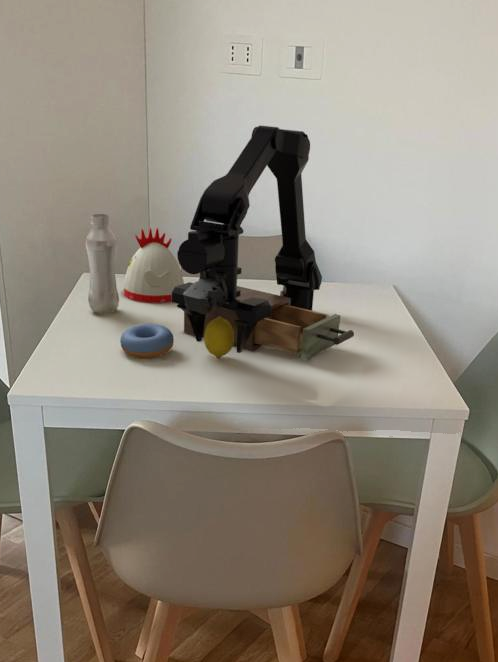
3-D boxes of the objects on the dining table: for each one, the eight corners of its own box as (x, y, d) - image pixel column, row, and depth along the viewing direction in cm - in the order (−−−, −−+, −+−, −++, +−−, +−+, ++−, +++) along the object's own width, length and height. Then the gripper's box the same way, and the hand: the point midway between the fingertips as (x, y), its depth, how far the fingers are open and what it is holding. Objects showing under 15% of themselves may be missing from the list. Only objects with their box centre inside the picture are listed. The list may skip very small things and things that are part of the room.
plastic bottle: (124, 309, 175) (122, 214, 165) (110, 318, 169) (106, 220, 160) (98, 305, 177) (94, 211, 167) (82, 313, 171) (77, 216, 161)
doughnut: (130, 364, 146) (129, 340, 144) (113, 346, 154) (113, 323, 152) (181, 358, 150) (181, 334, 148) (163, 341, 158) (162, 318, 156)
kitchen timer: (121, 286, 191) (119, 221, 183) (178, 285, 194) (179, 221, 187) (127, 303, 179) (126, 234, 172) (188, 302, 182) (189, 234, 175)
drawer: (359, 349, 157) (363, 320, 154) (329, 366, 147) (332, 335, 145) (271, 326, 166) (273, 299, 163) (237, 341, 157) (238, 312, 154)
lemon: (232, 364, 149) (234, 322, 145) (202, 362, 149) (203, 320, 145) (233, 353, 153) (235, 313, 150) (204, 352, 153) (205, 311, 150)
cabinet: (288, 334, 165) (290, 298, 162) (251, 351, 155) (253, 312, 152) (222, 317, 173) (223, 282, 170) (183, 332, 163) (184, 295, 159)
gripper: (151, 261, 141) (152, 346, 148) (239, 281, 132) (235, 370, 140) (190, 251, 149) (189, 332, 157) (275, 269, 140) (269, 353, 148)
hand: (219, 346), depth 150 cm, fingers open, 9 cm apart
